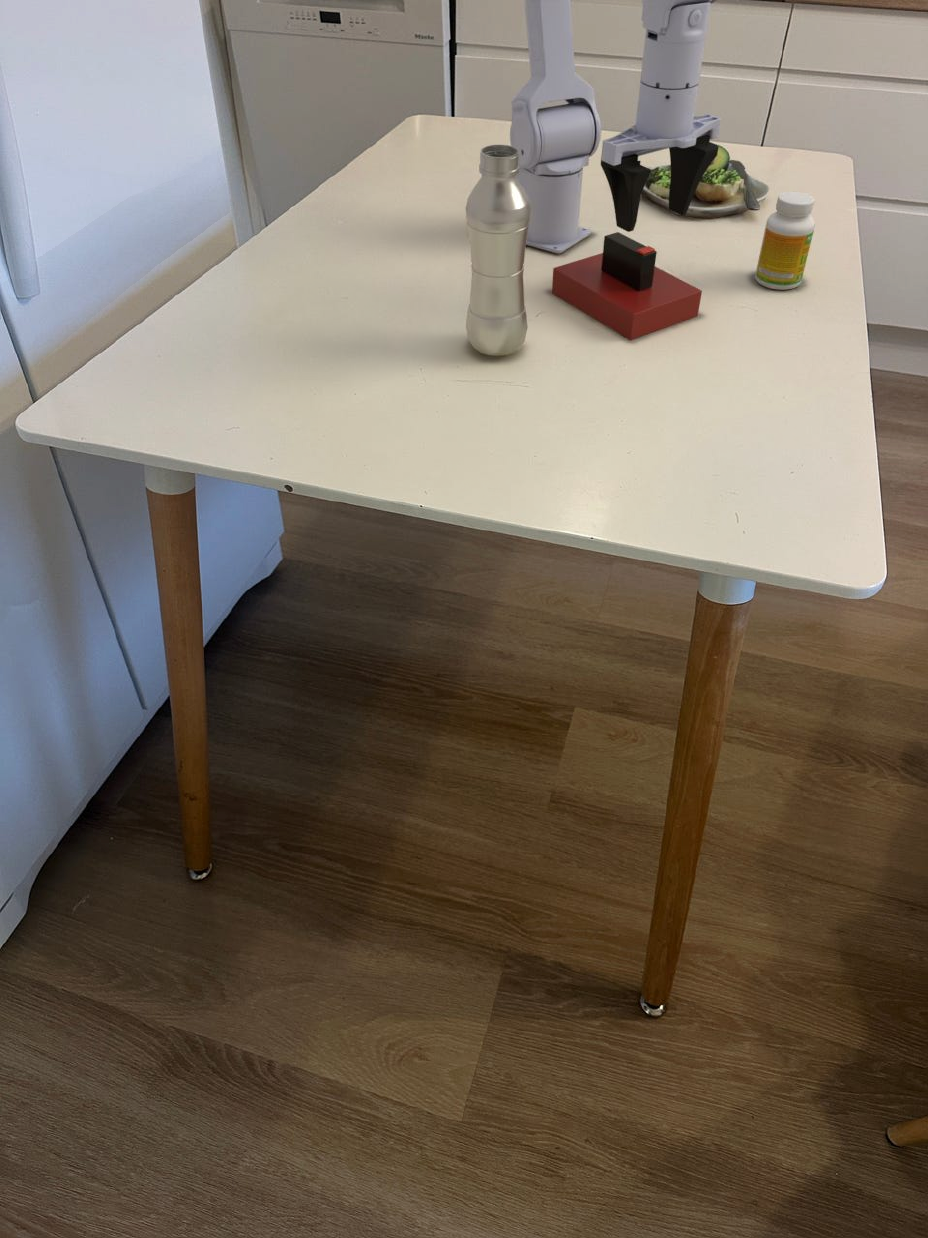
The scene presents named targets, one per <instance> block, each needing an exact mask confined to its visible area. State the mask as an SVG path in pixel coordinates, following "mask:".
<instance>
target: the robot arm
mask: <svg viewBox="0 0 928 1238" xmlns="http://www.w3.org/2000/svg"><path fill="white" fill-rule="evenodd" d="M717 1H718V0H641V3H642V11H641V21H642V27H643V28H644V29H645V35H644V36H645V37H644V46H643V54H642V63H641V72H640V80H639V81H640V82H639V90H638V100H637V107H636V110H637V111H636V118H635V124H634V125H632V126H631V127H629V128H627V129H625V130H623V131H622V132H619V133H618V134H616V135H614V136H612V137H609V138H606V139H603V140H602V139H601V138H602V123H601V122H602V121H601V118H600V115H599V112H598V109H597V105H596V99H595V89H594V88H593V86H591V84H590V83H588V82H587V81H586V80H584V79H583V78H582V77H581V76H580V75H579V74H578V73H577V72H576V67H575V65H576V64H575V52H574V51H575V50H574V49H575V48H574V36H573V34H574V33H573V21H572V20H573V19H572V5H571V0H523V2H524V3H523V4H524V12H525V24H526V36H527V48H528V58H529V71H530V78H529V79H528V80H527V82H526V83H525V84H524V86H523V87H522V88H521V89H520V90H519V91H518V92H517V93H516V94H515V96H514V97H513V98H512V100H511V124H510V130H509V142H510V146H512V147H515V148H517V149H518V150H519V167H520V168H519V173H518V174H517V175H516V178H517V179H518V181H519V182H520V184H521V185H522V187H523V188H524V190H525V192H526V194H527V196H528V198H529V202H530V206H531V217H530V224H529V229H528V235H527V241H526V246H529V247H533V248H537V249H540V250H544V251H547V252H551V253H555V254H562V253H564V252H565V251H567V250H568V249H570V248H571V247H572V246H574V245H576V244H578V243H579V242H580V241H582V240H584V239H586V238H587V237H589V236H591V234H592V229H589V228H586V227H582V226H580V225H579V223H580V211H581V197H582V188H583V187H582V186H583V185H582V184H583V174H584V167H588V166H589V164H590V162H589V161H590V158H591V157H592V156H594V155H595V154H596V152H597V150H598V148H599V146H600V142H601V140H602V145H601V154H600V155H601V156H600V166H601V169H602V171H603V173H604V175H605V178H606V181H607V183H608V187H609V189H610V194H611V198H612V202H613V208H614V215H615V224H616V227H617V228H619V229H622V230H624V231H625V232H627V233H630V232H633V231H635V228H636V224H637V221H638V215H639V210H640V209H639V208H640V202H641V199H642V195H643V194H642V191H643V188H644V186H645V183H646V181H647V178H648V176H649V174H650V172H651V169H649V167H646V166H645V165H642V164H641V160H639V157H641V156H645V155H649V154H652V153H657V152H659V151H663V150H667V149H668V150H669V159H670V161H669V162H670V165H671V180H670V190H669V209H668V211H670V212H673V213H675V214H677V215H679V216H685V215H686V213H687V210H688V208H689V205H690V203H691V200H692V198H693V196H694V193H695V191H696V189H697V186H698V184H699V182H700V180H701V178H702V177H703V175H704V173H705V172H706V170H707V168H708V167H709V165H710V164H711V163H712V161H713V160H714V159H715V158H716V156H717V154H718V148H719V147H718V145H719V144H717V145H716V143H713V142H711V141H712V140H715V139H719V134H720V127H721V122H722V119H721V118H720V117H717V116H715V115H712V114H709V113H707V114H701V115H695V112H696V105H697V97H698V91H699V84H700V78H701V71H702V65H703V58H704V52H705V51H704V50H705V44H706V38H707V33H708V25H709V18H710V11H711V4H714V3H715V2H717ZM560 101H564V102H565V101H566V103H565V104H559V105H552V106H547V107H542V105H545V104H549V103H553V102H560ZM710 140H711V141H710Z"/></svg>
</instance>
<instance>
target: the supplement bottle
mask: <svg viewBox="0 0 928 1238" xmlns="http://www.w3.org/2000/svg"><path fill="white" fill-rule="evenodd" d="M814 205H815V198H814V196H813V195H811V194H808V193H806V192H801V191H784V192H781V193H779V195H778V196H777V200H776V204H775V212H773V213H771V214H770V215H769V217H767V220H766V223H765V228H764V232H763V236H762V240H761V241H762V242H761V246H760V251H759V256H758V259H757V265H756V270H755V275H754V278H755V279H756V282H757V283H758V284H759V285H761V286H763V287H764V288H765V287H766V288H767V289H771V290H780V291H781V290H782V291H783V290H785V291H786V290H791V289H795V288H797V287H798V286H800V285H801V284H802V280H803V277H804V272H805V268H806V265H807V261H808V260H807V259H808V257H809V252H810V248H811V244H812V240H813V235H814V232H815V228H816V227H815V226H816V222H815V220H814V218H813V216H811V214H812V213H813V208H814Z"/></svg>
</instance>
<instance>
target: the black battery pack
mask: <svg viewBox="0 0 928 1238" xmlns="http://www.w3.org/2000/svg"><path fill="white" fill-rule="evenodd" d="M657 252H658V251H656V248H654V247H652V246H650V245H647V246H646V245H644V244H642V243H640V242H639V241H637V240H634V239H632V238H631V237H629V236H626V235H625V234H623V233H621V232H619V231H616V232H613V233H609V234H607V235H604V238H603V248H602V253H603V257H602V267H601V270H602V271H603V272H605V273H607V274H609V275H611V276H612V277H614V278H616V279H618V280H620V281H621V282H623V283H625V284H627V285H629V286H630V287H632V288H634V289H636V290H638V291H640V290H643V289H646V288H649V287H652V283H653V276H654V268H655V267H656V260H657V254H658V253H657Z"/></svg>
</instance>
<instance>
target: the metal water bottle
mask: <svg viewBox="0 0 928 1238" xmlns="http://www.w3.org/2000/svg"><path fill="white" fill-rule="evenodd" d="M479 153H480V155H479V156H480V157H479V165H478V166H479V167H478V172H479V173H480V174H481V177H480V178H479V180H478V181H477V183H475V185H474V187H473V188H472V190H471V191H470V193H469V195H468V197H467V199H466V200H467V201H466V203H465V219H466V226H467V234H468V239H469V240H468V241H469V247H470V262H471V265H470V266H471V279H470V280H471V281H470V294H469V305H468V308H467V314H466V321H465V329H466V336H467V339H468V342H469V343H470V344H471V346H472V347H473V348H474V350H476V351H477V352H479V353H481V354H484V355H487V356H494V357H495V356H497V357H498V356H506V355H507V356H508V355H511V354H513V353H516V352H517V351H518V350H519V349H520V348H521V347H522V345H523V344H524V343H525V341H526V337H527V332H528V327H529V326H528V316H527V309H526V305H525V289H524V287H525V286H524V268H525V266H524V264H525V258H526V246H527V245H526V241H527V235H528V229H529V224H530V217H531V206H530V202H529V198H528V196H527V194H526V192H525V190H524V188H523V187H522V185H521V184H520V182H519V181H518V179H517V178H516V175H517V174H518V173H519V168H520V167H519V150H518V149H517V148H515V147H512V146H511V145H510V144H490V145H486V146H484V147H482V148H481V149H480V152H479Z"/></svg>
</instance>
